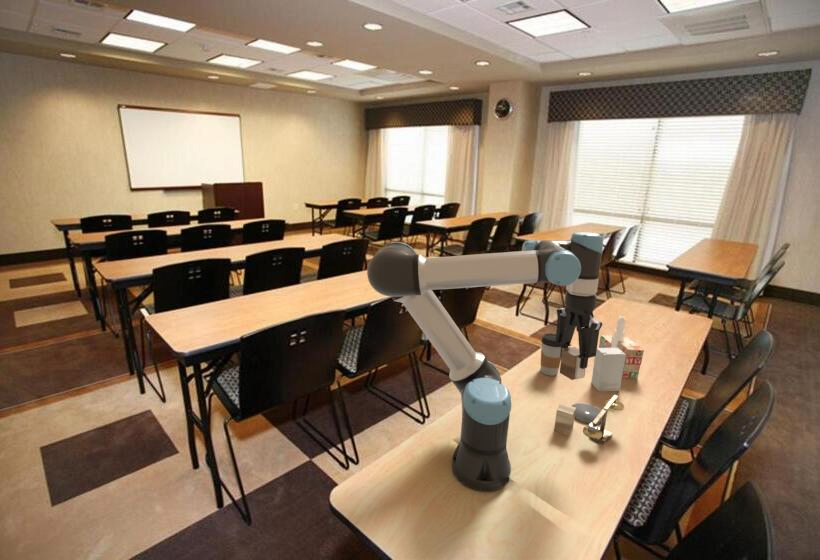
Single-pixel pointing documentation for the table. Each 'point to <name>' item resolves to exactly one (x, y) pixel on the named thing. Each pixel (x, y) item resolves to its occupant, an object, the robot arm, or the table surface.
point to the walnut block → (569, 362)
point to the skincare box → (608, 369)
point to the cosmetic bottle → (619, 332)
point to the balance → (602, 422)
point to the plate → (586, 413)
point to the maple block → (564, 419)
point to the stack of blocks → (631, 358)
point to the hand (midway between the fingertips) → (571, 373)
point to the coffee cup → (550, 355)
